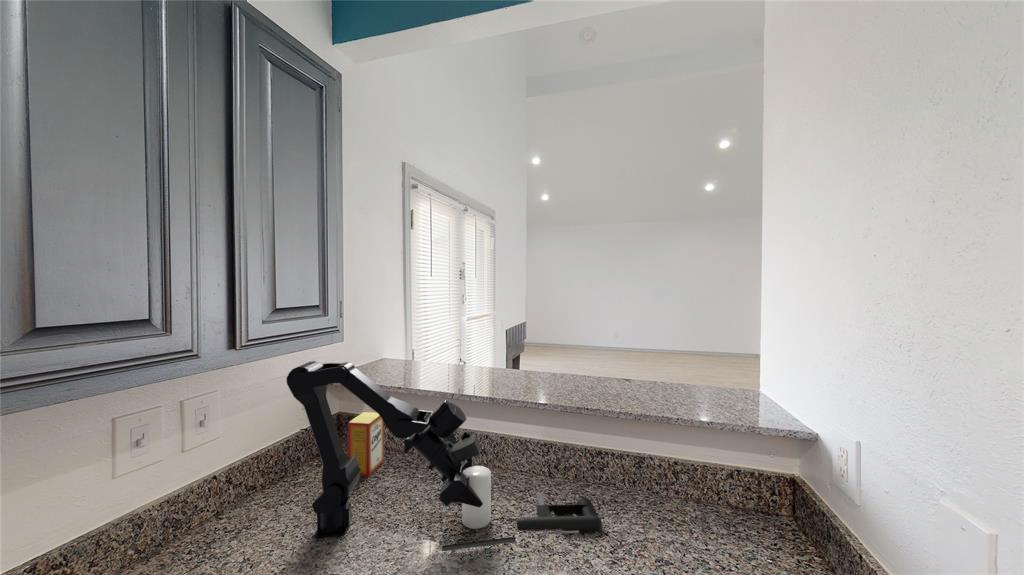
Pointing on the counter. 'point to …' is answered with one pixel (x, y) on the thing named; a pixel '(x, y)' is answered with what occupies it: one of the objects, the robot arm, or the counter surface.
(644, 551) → the counter surface
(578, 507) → the door handle
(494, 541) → the dark grey flat plate
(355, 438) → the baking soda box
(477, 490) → the white smooth rounded cylinder
